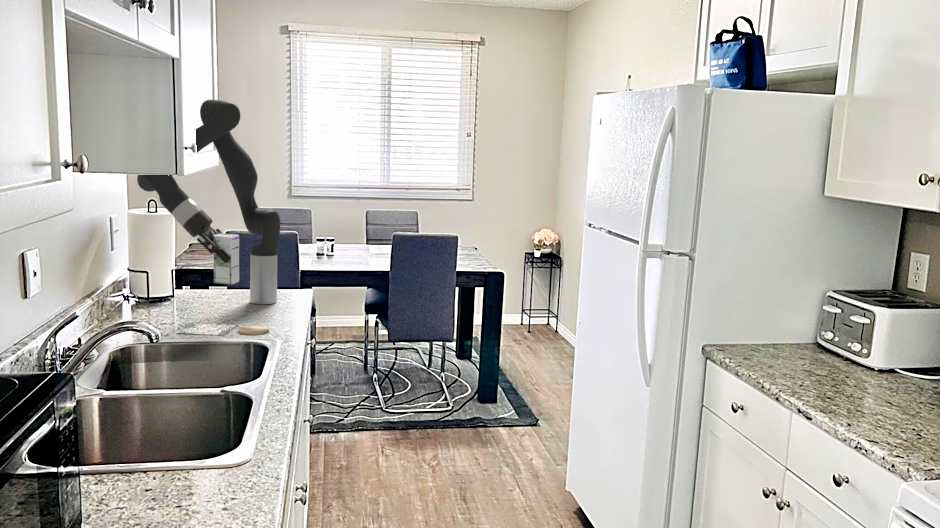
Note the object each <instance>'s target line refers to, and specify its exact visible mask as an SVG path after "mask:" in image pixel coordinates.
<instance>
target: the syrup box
mask: <svg viewBox="0 0 940 528" xmlns="http://www.w3.org/2000/svg"><path fill="white" fill-rule="evenodd" d="M214 237H215V238H216V239H217V240H218V242H219V245H220V246H221V248H222V249H223V250H224V251H225V252H226V253H227V254H228V255H229V256H230V257H231V259H230V260H229V261H228V262H227V263H224V262H223V261H222V260H221V259H220V258H219V256H218V255H217V254H216V255H215V254H214V253H213V283H214V284H221V285H235V284H237V283H238V282H240V235H239V234H235V233H223V234H216V235H214ZM213 240H214V239H213ZM213 242H214V241H213ZM222 249H221V250H222Z"/></svg>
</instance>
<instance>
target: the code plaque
mask: <svg viewBox="0 0 940 528" xmlns="http://www.w3.org/2000/svg"><path fill="white" fill-rule="evenodd" d="M191 323H192V324H191ZM191 323H188V324H187V325H186V326H188V327H189V328H191V327H190V326H192V325H195V326H196V324H198V323H199V322H191ZM194 323H196V324H194ZM186 326H185V327H186ZM192 327H193V326H192ZM229 327H230V326H229ZM186 328H187V327H186ZM198 328H199V327H198ZM230 328H231V327H230ZM230 328H229V329H228V330H226V331H225V330H223V331H224V332H223V331H221V333H219V334H218V337H224V336H225V335H226V334H228V333H229V332H230V331H231V330H230ZM234 328H235V327H233V329H234ZM187 329H188V328H187ZM195 330H196V329H195Z"/></svg>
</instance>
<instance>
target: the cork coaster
mask: <svg viewBox="0 0 940 528" xmlns="http://www.w3.org/2000/svg"><path fill="white" fill-rule="evenodd" d="M237 330H238V333H239V334H241V335H249V336H257V335H265V334H268V333H269V332H270V328H269V327H267V326H263V325H245V326H242V327H239V328H238V329H237Z"/></svg>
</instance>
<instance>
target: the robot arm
mask: <svg viewBox="0 0 940 528" xmlns="http://www.w3.org/2000/svg"><path fill="white" fill-rule="evenodd" d="M199 109H200V110H199V116H200V119H201V123H202V125H201V126H199V127H197V128H195V129H196V145H197V153H199V152H200V151H201V150H203V149H204V148H206V147H207V146H209V145H210V144H212V143H213V144H214V147H215V150H216V151H217V153H218V155H219V159H220V160H221V163H222V165H223V168H224V170H225V173H226V175H227V178H228V180H229V182H230V184H231V187H232V189H233V192H234V193H235V196H236V199H237V201H238V204H239V209H240V212H241V215H242V219H243V222H244V225H245V228H246V229H247V231H248V232H249V233H250V234H252V235H258V236H261V241H260V242H259V243H257V244H254V245H251V246H250V254H249V255H250V257H249V258H250V259H249V260H250V261H249V262H250V264H249V265H250V267H249V269H250V270H249V272H250V275H249V276H250V278H249V280H250V281H249V282H250V283H249V289H250V290H249V298H250V299H249V302H250V303H251V304H255V305H270V304H271V305H272V304H277V301H278V249H279V245H280V236H281V234H280V233H281V216H280V214H279V212H277V211H276V210H274V209H268V208H267V209H265V208H260V207H259V206H258V203H257V201H256V199H255V192H256V191H255V190H256V188H257V184H258V177H259V176H258V173H257V170H256V167H255V165H254V162H253V160H252V159H251V157H250V155H249V154H248V153H247V151H246V150H245V149H244V148H243V147H242V146H241V145H240V143H238V142H237V140H236V139H235V138H234V136H233V135H232V133H231V131H232V130H233V129H235V128H236V127H237V126H238V125H239V123H240V120H241V110H240V109H239V107H238V105H237V104H235V103H233V102H231V101H227V100H221V99H220V100H219V99H207V100H204V101H203V102H202V103H201V106H200V108H199ZM136 180H137V185H138V187H139V188H140V189H142V190H143V191H145V192H149V193H150V192H156V194H158V197H159V202H160V203H161V205H162V206H163V207H164V208H165V209H166V210H167V211H168V212H169V213H170V215H171V216H173V218H174V220H175V221H176V222H177V223H179V225H180V226H181V227H182V228H183V229H184V230H185V231H186V232H187V233H188V234H189V235H190V236H191V237H192V238H196V237H197V238H196V240H197V241H196V242H198V243H200V244H201V246H203V247H204V248H205V249H206V250H207V251H208V252H209V253H210V254H211V255H212V254H213V255H214V254H215V255H216V254H217V255H218V256H219V258H220V259H221V260H222V261H223V262H224V263H227V262H228V261H229V260H230V259H231V257H230V256H229V255H228V254H227V253H226V252H225V251H224V250H223V249H222V248H221V246H220V245H219V242H218V240H217V239H216V238H215V237H214V235H216V234H224V233H223V232H222V231H221V229H219V228H216V229H214V228H213V227H211V225H212V224H213V219H212V218H211V217H210V216H209V215H208V213H206V212H205V211H204V210H203V209H202V207H201V206H199V205H198V203H196V202H195V201H194V199H191V198H190V197H189V196H188V194H187V193H186V192H185V191H184V190H183V189H181V188H180V186H179V185H178V183H177V181H176V180H175V178H174V176H173V175H169V176H168V175H138V174H137V178H136ZM213 239H214V240H213ZM213 241H214V242H213ZM221 249H222V250H221Z"/></svg>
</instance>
